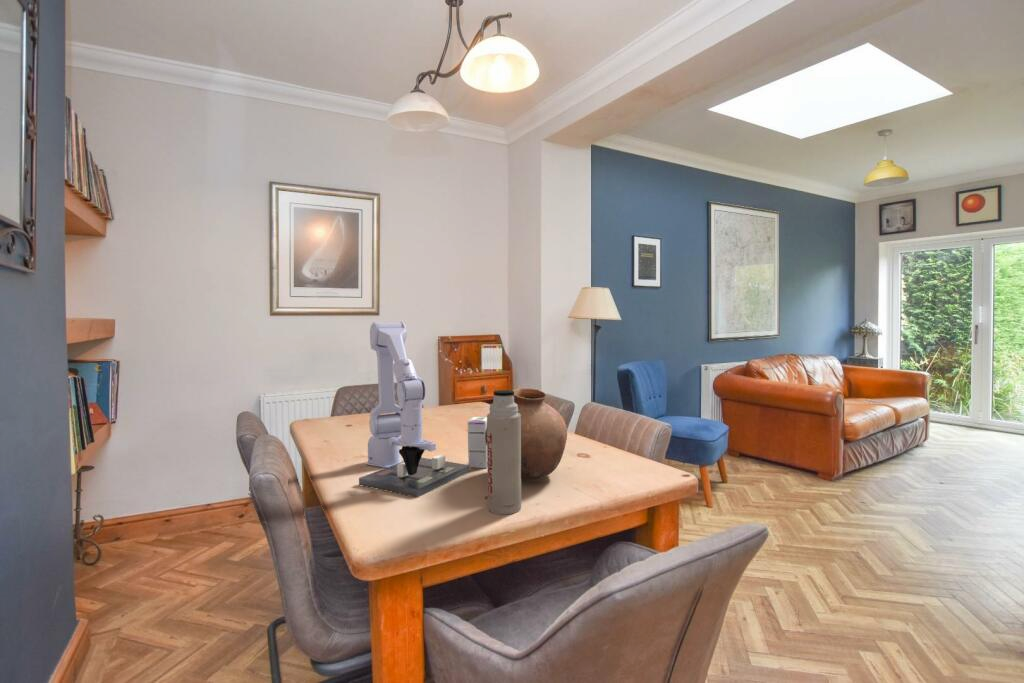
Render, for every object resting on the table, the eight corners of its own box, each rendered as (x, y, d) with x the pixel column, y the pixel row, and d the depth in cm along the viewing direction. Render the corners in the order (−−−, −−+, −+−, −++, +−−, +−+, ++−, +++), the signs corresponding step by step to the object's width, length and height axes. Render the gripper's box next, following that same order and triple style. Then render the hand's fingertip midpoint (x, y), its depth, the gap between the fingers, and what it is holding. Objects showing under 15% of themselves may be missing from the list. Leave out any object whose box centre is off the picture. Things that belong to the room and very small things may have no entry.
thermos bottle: (488, 515, 117) (487, 393, 115) (487, 502, 125) (486, 388, 123) (523, 513, 117) (522, 392, 116) (519, 501, 125) (518, 388, 124)
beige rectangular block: (397, 476, 138) (397, 464, 138) (406, 472, 141) (406, 461, 141) (403, 477, 137) (403, 465, 137) (411, 473, 140) (411, 462, 140)
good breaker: (432, 468, 145) (431, 457, 145) (439, 465, 148) (439, 454, 148) (437, 469, 144) (437, 458, 144) (445, 466, 147) (445, 455, 147)
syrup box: (486, 468, 153) (486, 420, 152) (467, 467, 154) (467, 419, 153) (491, 463, 158) (490, 416, 158) (473, 462, 159) (472, 416, 159)
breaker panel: (359, 485, 138) (358, 477, 138) (416, 462, 159) (416, 456, 159) (417, 497, 128) (417, 489, 128) (469, 471, 149) (469, 464, 149)
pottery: (507, 462, 159) (507, 382, 158) (578, 471, 149) (578, 386, 148) (470, 483, 139) (469, 392, 138) (549, 496, 129) (548, 397, 127)
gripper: (380, 424, 137) (381, 474, 138) (423, 429, 130) (424, 482, 131) (398, 419, 143) (399, 467, 144) (440, 424, 137) (440, 474, 137)
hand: (412, 474), depth 138 cm, fingers closed
